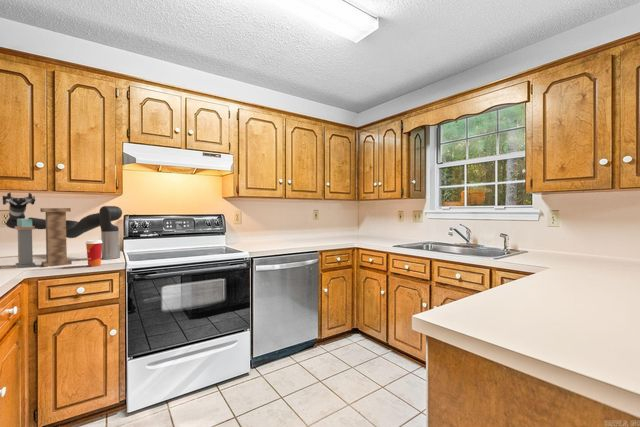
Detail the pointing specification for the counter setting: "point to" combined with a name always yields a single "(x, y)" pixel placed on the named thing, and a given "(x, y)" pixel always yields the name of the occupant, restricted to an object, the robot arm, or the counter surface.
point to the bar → (24, 222)
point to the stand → (56, 236)
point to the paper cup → (94, 252)
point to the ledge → (25, 247)
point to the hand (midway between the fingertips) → (20, 193)
